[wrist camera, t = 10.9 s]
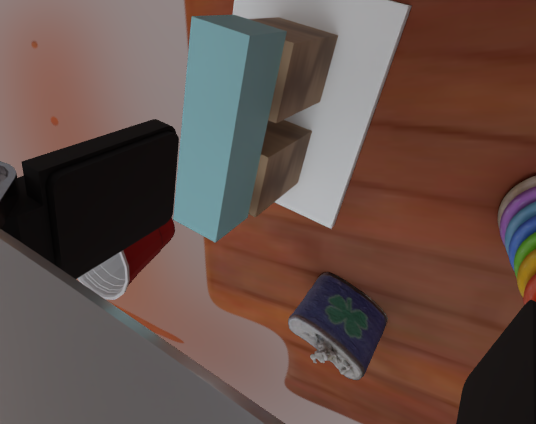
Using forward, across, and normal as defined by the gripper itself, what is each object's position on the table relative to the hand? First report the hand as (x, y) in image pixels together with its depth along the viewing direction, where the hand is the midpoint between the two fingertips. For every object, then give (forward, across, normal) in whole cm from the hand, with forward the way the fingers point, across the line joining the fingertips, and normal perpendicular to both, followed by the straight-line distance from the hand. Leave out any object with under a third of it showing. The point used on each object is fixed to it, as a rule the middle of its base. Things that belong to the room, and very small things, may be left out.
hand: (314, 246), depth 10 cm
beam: (+19, +14, +7) cm, 25 cm away
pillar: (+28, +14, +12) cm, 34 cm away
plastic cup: (+29, +30, +30) cm, 51 cm away
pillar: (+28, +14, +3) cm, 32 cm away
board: (+29, +14, +7) cm, 33 cm away
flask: (+30, +1, +26) cm, 39 cm away
